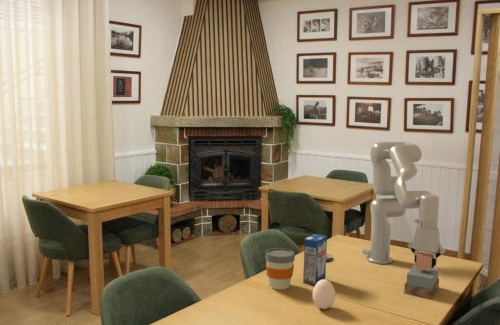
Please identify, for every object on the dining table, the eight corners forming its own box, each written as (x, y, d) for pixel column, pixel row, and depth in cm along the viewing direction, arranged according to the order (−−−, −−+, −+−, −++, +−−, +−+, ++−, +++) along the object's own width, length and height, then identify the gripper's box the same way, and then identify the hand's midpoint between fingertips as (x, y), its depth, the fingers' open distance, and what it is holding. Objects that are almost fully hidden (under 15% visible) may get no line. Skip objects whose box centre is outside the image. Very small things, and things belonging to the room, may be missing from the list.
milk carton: (316, 286, 211) (317, 241, 208) (303, 283, 214) (304, 238, 212) (325, 279, 219) (327, 235, 217) (312, 276, 223) (314, 233, 220)
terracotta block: (415, 268, 206) (416, 254, 205) (419, 264, 211) (420, 251, 210) (430, 271, 203) (431, 257, 202) (433, 267, 208) (434, 253, 207)
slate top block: (406, 284, 204) (407, 273, 204) (414, 274, 216) (414, 264, 215) (431, 289, 199) (432, 278, 198) (438, 278, 211) (438, 268, 210)
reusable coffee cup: (298, 283, 213) (299, 250, 211) (287, 293, 202) (288, 258, 200) (271, 278, 219) (272, 246, 217) (260, 288, 207) (260, 254, 205)
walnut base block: (404, 294, 205) (404, 284, 204) (412, 283, 217) (413, 273, 217) (431, 300, 199) (432, 289, 199) (438, 288, 212) (439, 278, 211)
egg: (319, 314, 183) (320, 285, 182) (307, 305, 191) (308, 277, 189) (339, 311, 186) (340, 282, 185) (326, 302, 194) (327, 274, 193)
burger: (333, 263, 242) (333, 248, 241) (309, 262, 242) (310, 248, 241) (329, 255, 254) (330, 241, 253) (306, 254, 254) (307, 241, 253)
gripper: (404, 222, 206) (402, 263, 208) (447, 229, 197) (444, 272, 199) (409, 219, 212) (406, 259, 215) (451, 225, 203) (448, 267, 205)
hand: (425, 265), depth 207 cm, fingers closed on terracotta block, 5 cm apart
